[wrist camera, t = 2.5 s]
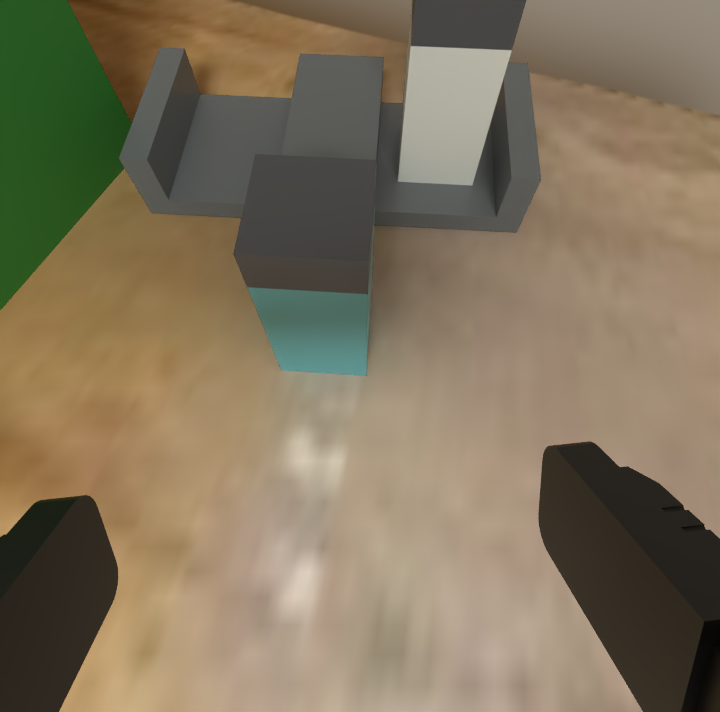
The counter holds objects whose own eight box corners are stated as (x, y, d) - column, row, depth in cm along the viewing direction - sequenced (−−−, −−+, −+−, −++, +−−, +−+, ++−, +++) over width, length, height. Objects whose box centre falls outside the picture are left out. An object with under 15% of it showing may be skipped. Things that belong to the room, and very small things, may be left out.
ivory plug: (470, 132, 30) (518, -62, 20) (472, 185, 28) (526, 0, 19) (400, 128, 30) (417, -66, 21) (397, 181, 28) (415, -5, 19)
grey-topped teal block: (371, 301, 26) (376, 159, 17) (366, 375, 24) (368, 261, 15) (292, 297, 26) (255, 153, 17) (281, 370, 24) (233, 254, 15)
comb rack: (507, 124, 32) (527, 63, 28) (516, 232, 28) (541, 179, 24) (184, 109, 32) (160, 47, 28) (151, 213, 29) (118, 158, 25)
